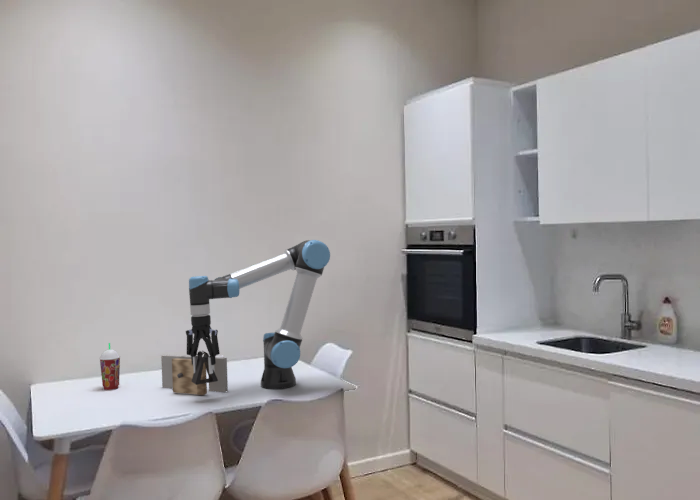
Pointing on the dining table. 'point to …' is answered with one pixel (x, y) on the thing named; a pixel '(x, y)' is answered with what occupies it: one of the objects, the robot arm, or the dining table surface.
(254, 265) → the robot arm
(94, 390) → the dining table surface
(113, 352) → the smoothie
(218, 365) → the wall
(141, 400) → the dining table surface
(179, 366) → the door
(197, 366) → the phone stand
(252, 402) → the dining table surface
